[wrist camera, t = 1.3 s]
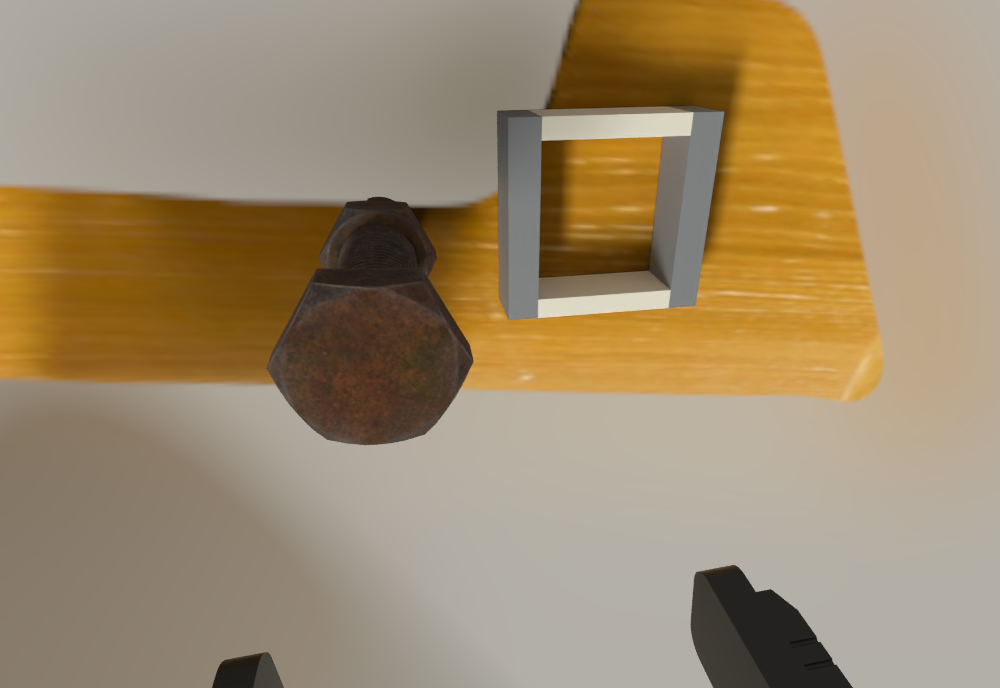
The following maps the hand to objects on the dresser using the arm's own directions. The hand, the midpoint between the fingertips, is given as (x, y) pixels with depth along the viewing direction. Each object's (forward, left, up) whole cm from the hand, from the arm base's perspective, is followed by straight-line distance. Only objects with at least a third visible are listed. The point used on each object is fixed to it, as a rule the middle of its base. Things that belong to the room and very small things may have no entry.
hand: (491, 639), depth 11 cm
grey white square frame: (+9, +2, -23) cm, 24 cm away
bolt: (-2, +2, -23) cm, 23 cm away
